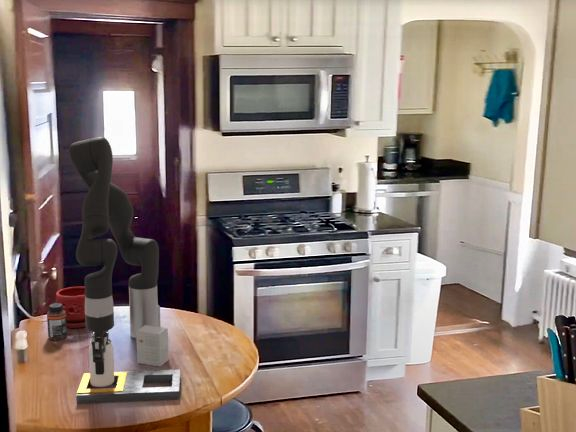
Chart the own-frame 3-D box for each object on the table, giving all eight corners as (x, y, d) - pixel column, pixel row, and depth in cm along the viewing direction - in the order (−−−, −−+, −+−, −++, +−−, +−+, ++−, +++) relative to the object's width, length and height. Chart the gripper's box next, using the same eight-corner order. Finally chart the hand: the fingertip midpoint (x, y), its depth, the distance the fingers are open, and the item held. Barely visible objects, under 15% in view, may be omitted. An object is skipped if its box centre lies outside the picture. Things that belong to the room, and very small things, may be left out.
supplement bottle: (50, 334, 236) (48, 302, 233) (68, 333, 236) (67, 301, 234) (46, 341, 230) (44, 308, 228) (64, 340, 230) (63, 307, 228)
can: (107, 389, 191) (106, 347, 188) (86, 386, 192) (84, 345, 190) (118, 379, 197) (116, 338, 195) (97, 376, 198) (95, 336, 196)
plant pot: (104, 323, 247) (102, 290, 244) (70, 333, 237) (69, 299, 234) (83, 314, 255) (81, 282, 252) (50, 323, 245) (48, 290, 243)
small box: (169, 360, 216) (168, 327, 214) (160, 367, 211) (159, 334, 209) (146, 356, 219) (145, 324, 217) (136, 363, 214) (135, 330, 212)
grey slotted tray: (180, 377, 204) (180, 368, 204) (179, 399, 191) (178, 390, 190) (84, 381, 201) (84, 372, 201) (76, 404, 188) (76, 394, 187)
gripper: (89, 302, 197) (91, 358, 200) (80, 320, 183) (83, 380, 186) (116, 302, 198) (118, 357, 201) (110, 320, 184) (112, 379, 187)
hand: (101, 368), depth 194 cm, fingers closed on can, 6 cm apart
